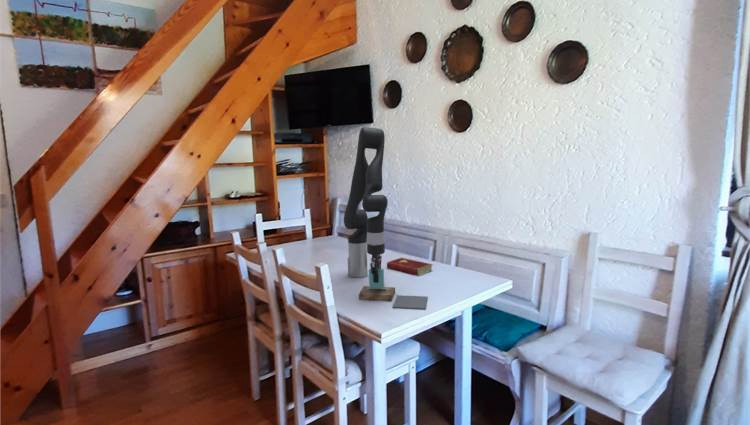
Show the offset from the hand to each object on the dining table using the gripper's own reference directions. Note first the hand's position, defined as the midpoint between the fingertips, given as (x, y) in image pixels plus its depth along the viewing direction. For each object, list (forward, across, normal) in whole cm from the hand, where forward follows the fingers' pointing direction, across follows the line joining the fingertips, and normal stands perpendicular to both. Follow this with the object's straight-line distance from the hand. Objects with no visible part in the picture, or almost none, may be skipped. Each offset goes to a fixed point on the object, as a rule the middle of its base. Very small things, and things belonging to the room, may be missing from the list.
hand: (376, 281), depth 177 cm
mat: (+6, +6, +15) cm, 18 cm away
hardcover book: (+7, -41, +9) cm, 42 cm away
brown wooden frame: (+7, 0, 0) cm, 7 cm away
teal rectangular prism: (+3, 0, 0) cm, 3 cm away
